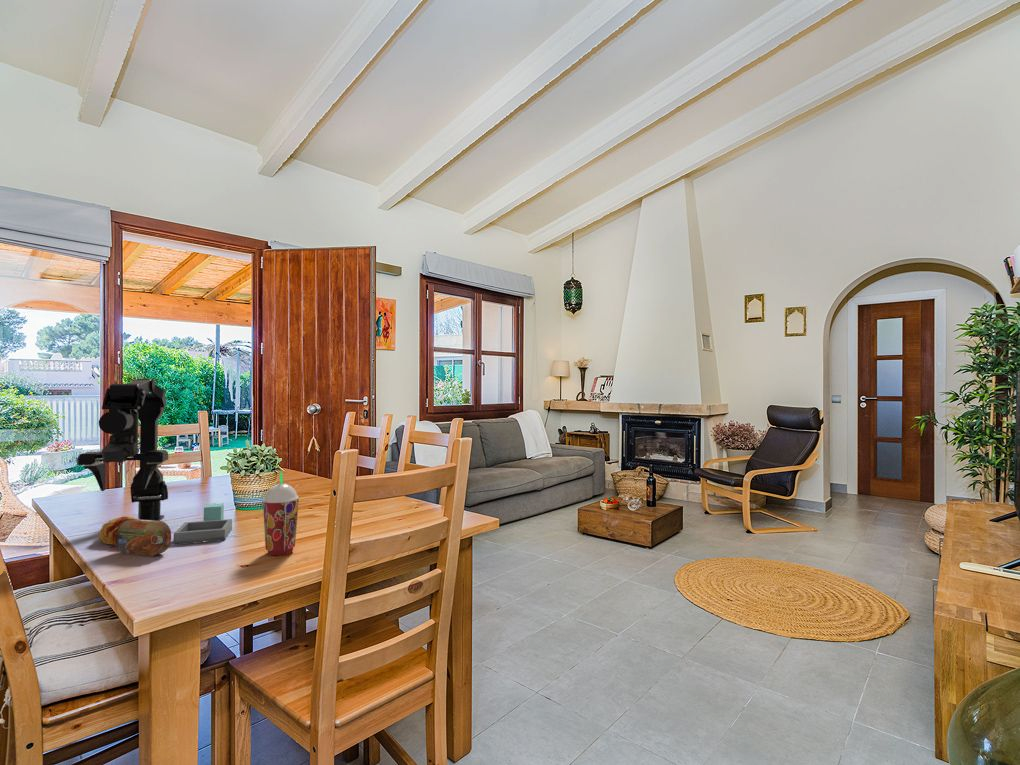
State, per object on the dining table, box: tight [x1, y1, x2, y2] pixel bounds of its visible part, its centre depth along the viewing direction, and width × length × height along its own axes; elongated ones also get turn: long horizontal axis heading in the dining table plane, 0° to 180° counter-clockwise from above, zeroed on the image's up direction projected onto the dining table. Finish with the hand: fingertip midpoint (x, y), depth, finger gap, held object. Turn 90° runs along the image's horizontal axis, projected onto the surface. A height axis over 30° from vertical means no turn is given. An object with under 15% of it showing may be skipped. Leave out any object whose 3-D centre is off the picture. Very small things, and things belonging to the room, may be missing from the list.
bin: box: [173, 518, 233, 545], centre depth 144 cm, size 12×12×3 cm
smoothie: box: [262, 472, 300, 557], centre depth 131 cm, size 8×8×20 cm
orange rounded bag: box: [115, 519, 172, 557], centre depth 129 cm, size 15×3×8 cm, turn 76°
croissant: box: [98, 515, 140, 546], centre depth 141 cm, size 21×10×8 cm, turn 45°
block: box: [203, 503, 225, 521], centre depth 156 cm, size 4×4×6 cm
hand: (124, 489), depth 137 cm, fingers open, 9 cm apart
